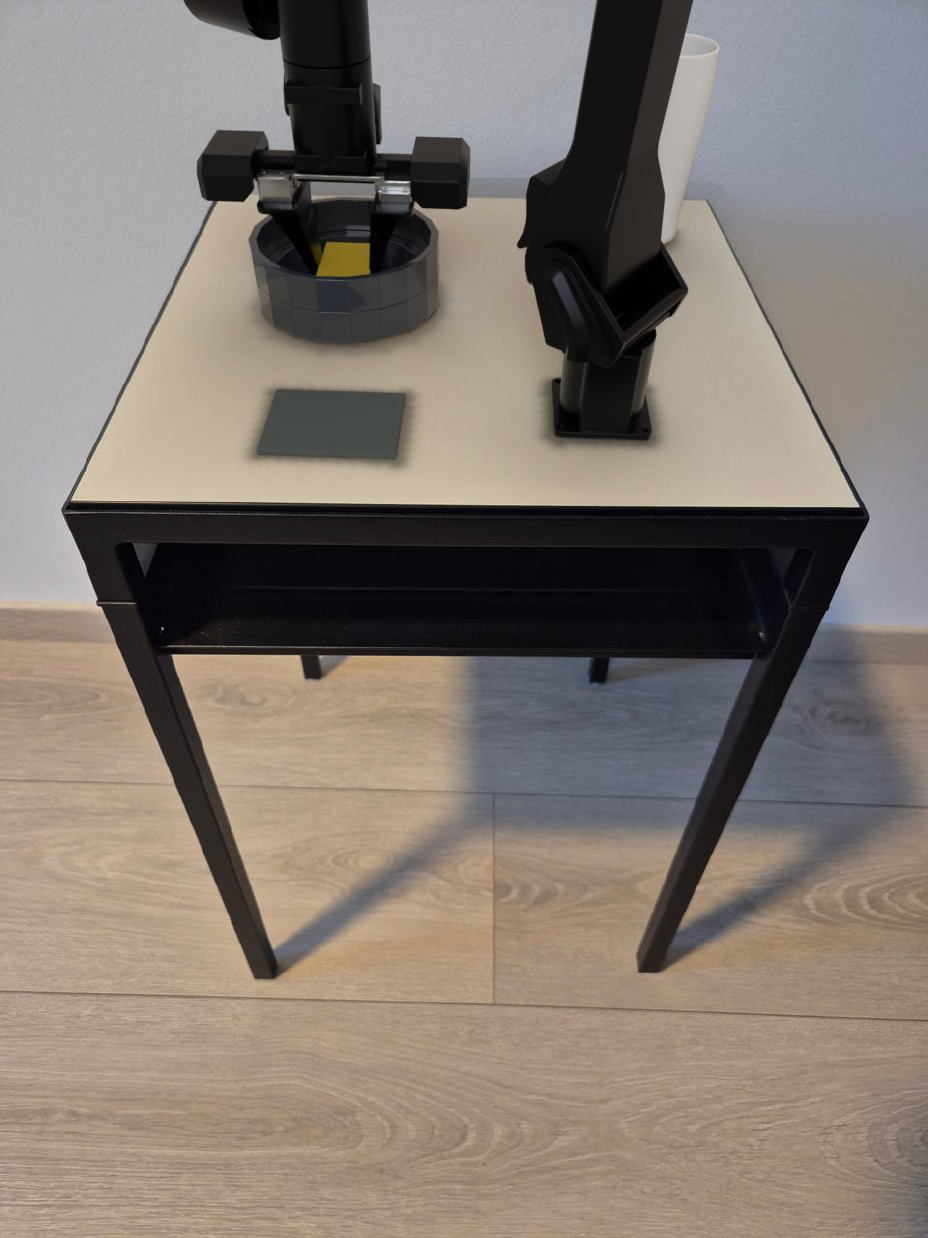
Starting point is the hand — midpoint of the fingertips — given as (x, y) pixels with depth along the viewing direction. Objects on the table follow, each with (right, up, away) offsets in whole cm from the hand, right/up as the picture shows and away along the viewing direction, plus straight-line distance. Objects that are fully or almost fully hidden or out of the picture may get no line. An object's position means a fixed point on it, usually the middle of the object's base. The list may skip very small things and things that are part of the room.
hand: (347, 283), depth 68 cm
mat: (0, -13, -9) cm, 16 cm away
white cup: (+26, +8, +11) cm, 29 cm away
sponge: (0, -1, +1) cm, 1 cm away
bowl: (0, -1, +2) cm, 2 cm away
